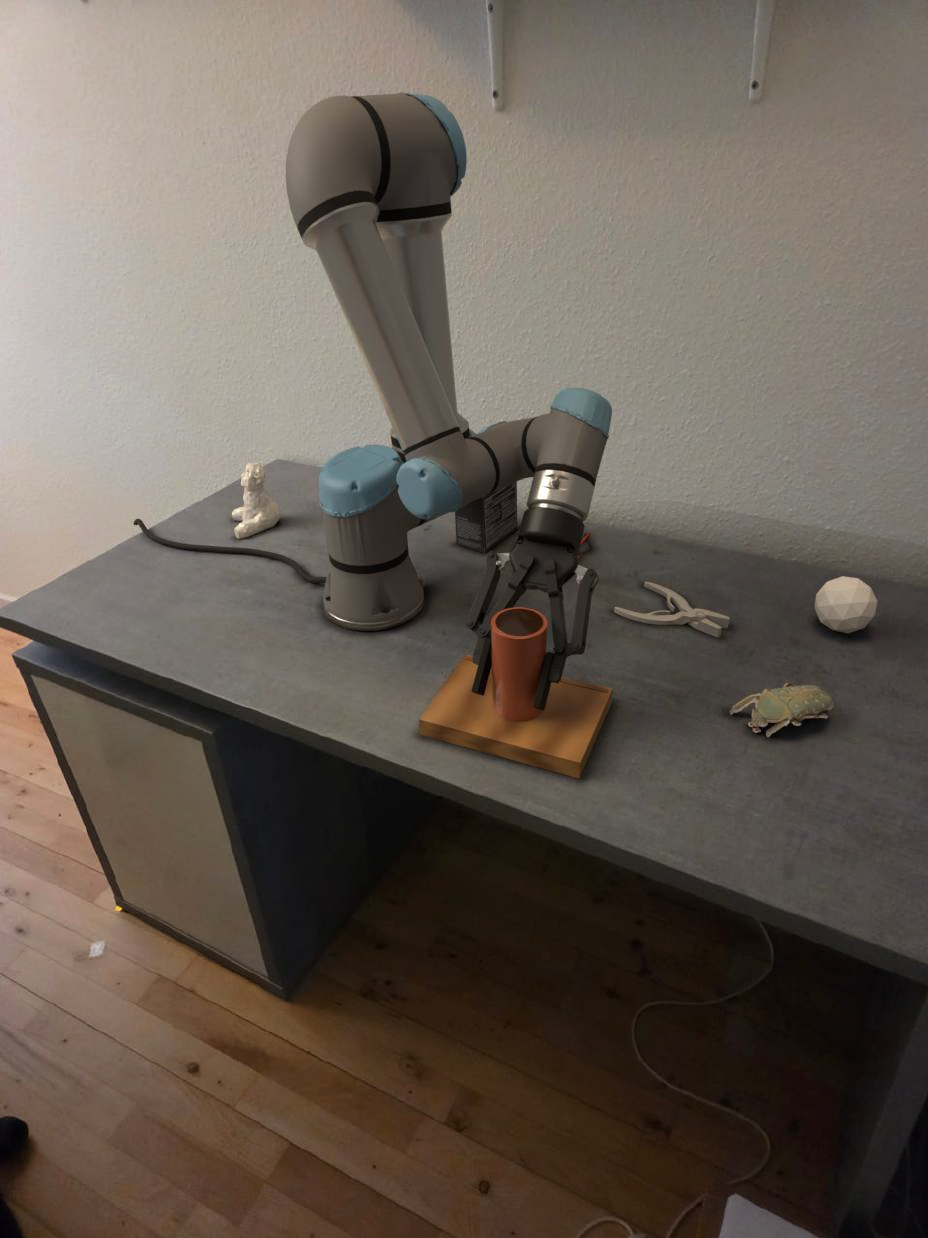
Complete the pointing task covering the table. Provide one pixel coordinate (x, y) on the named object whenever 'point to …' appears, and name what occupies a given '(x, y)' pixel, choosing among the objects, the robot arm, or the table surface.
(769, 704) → the decorative insect model
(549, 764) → the oak board
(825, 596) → the geometric ball
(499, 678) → the pen cup
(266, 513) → the sitting furry creature
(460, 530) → the small box
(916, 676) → the table surface
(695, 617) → the pliers
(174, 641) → the table surface
